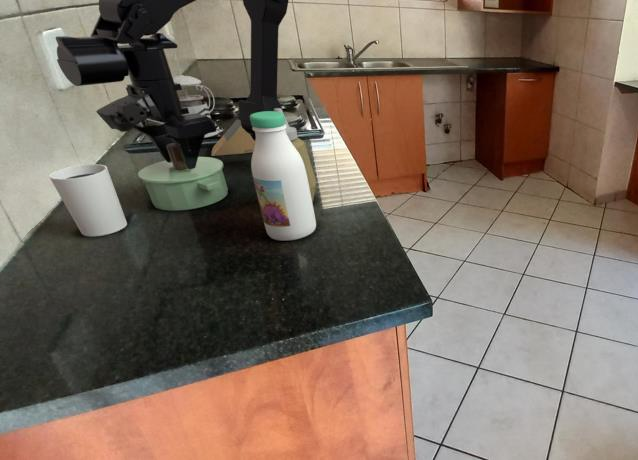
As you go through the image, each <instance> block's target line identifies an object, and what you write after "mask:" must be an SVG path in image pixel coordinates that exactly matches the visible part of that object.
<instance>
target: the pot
mask: <svg viewBox="0 0 638 460" xmlns="http://www.w3.org/2000/svg"><path fill="white" fill-rule="evenodd" d="M143 183H144V185H145V188H146V190H147V193H148V196H149V197H150V201H151V203H152V205H153V207H154V208H156V209H159V210H163V211H173V212H174V211H189V210H194V209H199V208H203V207H207V206H210V205H213V204H215V203H217V202H220V201H221V200H223V199H225V197H227V196H228V194H229V188H228V185H227V181H226V178H225V174H224V171H223V168H222V169H221V170H220V171H219V172H217V173H215V174H213V175H210V176H207V177H204V178H201V179H197V180H192V181H186V182H179V183H149V182H145V181H143Z"/></svg>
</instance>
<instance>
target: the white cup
mask: <svg viewBox="0 0 638 460" xmlns="http://www.w3.org/2000/svg"><path fill="white" fill-rule="evenodd" d="M48 177H49V179H50V181H51V183H52V185H53V186H54V188H55V189H56V192H57V193H58V195H59V197H60V199H61V200H62V202H63V204H64V205H65V207H66V209H67V211H68V213H69V214H70V216H71V218H72V219H73V221H74V222H75V225H76V226H77V228H78V230H79V231H80V234H81V235H83V236H85V237H101V236H107V235H110V234H113V233H116V232H119V231H120V230H123V229H125V228H126V227H127V225H128V222H127V220H126V217H125V214H124V211H123V208H122V205H121V202H120V199H119V197H118V194H117V192H116V188H115V185H114V184H113V179H112V177H111V174H110V172H109V169H108V167H107V165H104V164H97V163H94V164H93V163H90V164H89V163H88V164H79V165H73V166H68V167H63V168H60V169H58V170H55V171H53V172H51V173H49V176H48Z"/></svg>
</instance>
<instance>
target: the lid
mask: <svg viewBox="0 0 638 460" xmlns="http://www.w3.org/2000/svg"><path fill="white" fill-rule="evenodd" d="M166 147H167V150H168V153H169V155H170V158H171V161H172V162H171V163H168V162H167V161H166V160H162V161H159V162H155V163H151V164H150V165H147V166H145V167H143V168H141V169H140V170H139V171H138V173H137V176H138V179H139V180H141V181H142V182H144V181H145V182H149V183H179V182H186V181H192V180H197V179H201V178H204V177H207V176H210V175H213V174H215V173H217V172H219V171H220V170H221V169H222V170H223V168H224V163H223V161H222V160H220V159H218V158H215V157H209V156H198V160H197V163H196V167H195V168H194V169H188V168H187V166H186V164H185V162H184V160H183V158H182V156H181V154H180V152H179V150H178V148H177V146H176V144H175V143H171V144H168V145H166Z"/></svg>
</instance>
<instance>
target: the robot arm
mask: <svg viewBox="0 0 638 460" xmlns="http://www.w3.org/2000/svg"><path fill="white" fill-rule="evenodd" d="M195 1H197V0H98V12H99V16H98V18H97V21H96V23H95V25H94V27H93V30H92V32H91V34H90V36H78V37H73V36H69V35H68V36H66V35H62V36H61V35H59V36H55V41H56V43H57V47H56V55H57V59H56V62H57V65H58V66H59V68H60V70H61V72H62V74H63V75H64V76H65V78H66V79H67V80H68V81H69V83H71V84H72V85H73V86H75V87H83V86H91V85H93V86H94V85H101V84H110V83H121V82H123V81H124V80H125V78H126V77H129V79H130V84H126V87H125V90H126V93H127V95H125V96H123V97H120V98H118V99H115V100H114V101H111V102H109V103H108V104H105V105H104V106H102V107H100V108H98V109H97V110H96V111H95V112H96V114H97V115H99V117H100V118H101V119H102V120H103V121H104V122H105V124H106V125H108V127H109V128H110V129H111V130H116V131H119V132H121V133H124V132H125V133H126V132H129V131H131V130H135V131H137V132H139V133H141V134H144V135H145V136H146V137H147V138H148V139H149V140H150V141H151V143H152V144H153V146H154V147H155V148H156V149H157V151H158V152H159V153H160V155H161V156H162V157H163V159H164V161H167V162H168V163H171V162H172V161H171V158H170V155H169V153H168V150H167V147H166V145H168V144H171V143H175V144H176V146H177V148H178V150H179V152H180V154H181V156H182V158H183V160H184V162H185V164H186V166H187V168H188V169H194V168H195V167H196V163H197V160H198V157H200V151H201V148H202V146H203V145H202V144H203V142H204V140H205V138H206V137H205V135H206V134H208V133H212V132H216V131H217V130H218V129H217V126H216V123H215V120H214V119H212V117H211V118H209V117H208V116H207V115H206V116H204V115H200V114H196V113H194V114H188V113H189V111H188V108H187V107H188V106H181V102H180V99H179V96H180V95H179V93H178V91H182V90H183V89H182V87H181V85H180V84H178V83H174V80H173V77H174V76H173V75H172V71H171V67H170V64H169V62H168V59H167V55H166V52H165V50H168V49H172V48H173V49H177V48H178V44H177V43H176V42H174V41H173V40H169V39H167V38H166V37H165V36H166V35H164V34H163V33H161V32H159V31H160V30H162V28H164V27H165V26H167V24H169V23H170V21H171V20H172V18H173V17H174V15H175V14H176V13H177V12H178V11H179V10H180V9H182V8H184V7H186V6H187V5H190V4H192V3H194V2H195ZM289 2H290V0H242V4H243V7H244V8H245V11H246V13H247V15H248V17H249V19H250V87H249V88H250V91H249V95H248V96H247V98H246V99H245V100H242V99H240V100H238V104H237V105H238V116H237V119H238V120H241V126H242V128H243V129H244V130H245V131H246V132H247V133H249V134H250V135H251V137H252V138H253V140H255V141H256V134H255V131H254V130H253V129H252V128H253V127H252V125H251V121H250V115H251V114H254V113H257V112H264V111H274V109H275V108H281V109H282V111H283V113H284V114H285V112H284V109H283V107H282V105H281V103H280V101H279V98H278V65H279V28H280V24H281V23H282V21H283V19H284V18H285V16H286V14H287V12H288V6H289ZM144 36H145V37H144ZM147 36H150V37H147ZM118 44H120V45H118ZM183 114H188V115H183ZM182 115H183V116H182ZM216 129H217V130H216ZM297 135H298V136H299V133H298V131H297ZM204 137H205V138H204Z"/></svg>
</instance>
